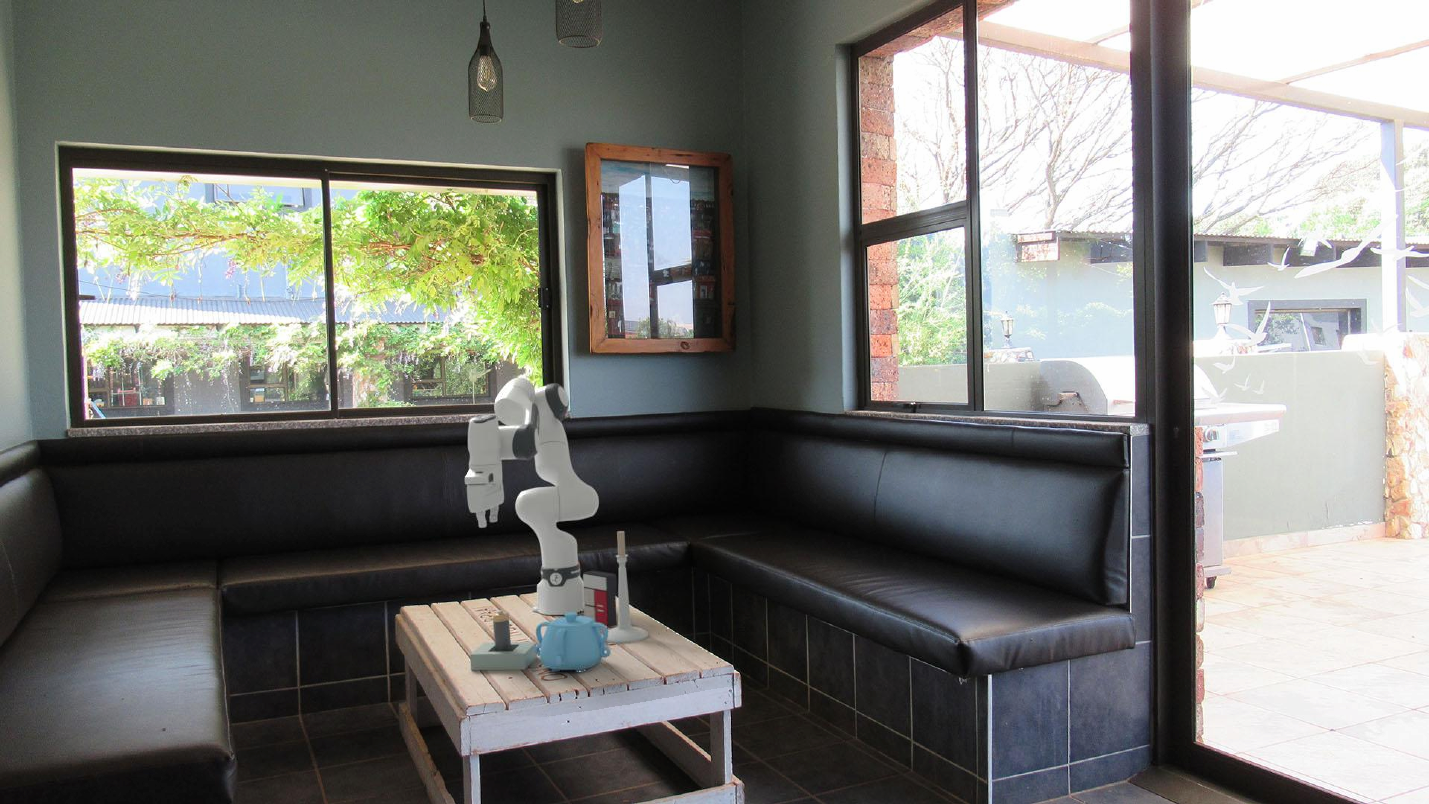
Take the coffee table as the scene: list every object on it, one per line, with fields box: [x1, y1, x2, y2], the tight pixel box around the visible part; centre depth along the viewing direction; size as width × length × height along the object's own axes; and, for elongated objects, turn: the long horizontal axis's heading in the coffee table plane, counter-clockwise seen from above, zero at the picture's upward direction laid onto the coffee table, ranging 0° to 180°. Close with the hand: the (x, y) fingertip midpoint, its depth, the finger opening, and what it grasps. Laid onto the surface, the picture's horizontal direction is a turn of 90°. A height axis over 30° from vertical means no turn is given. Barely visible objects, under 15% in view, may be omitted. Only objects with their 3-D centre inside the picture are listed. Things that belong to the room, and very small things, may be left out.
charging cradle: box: [469, 641, 538, 671], centre depth 256 cm, size 11×14×4 cm
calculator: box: [582, 570, 618, 628], centre depth 293 cm, size 11×4×15 cm, turn 47°
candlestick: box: [602, 529, 649, 644], centre depth 277 cm, size 13×13×30 cm
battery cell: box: [492, 609, 512, 652], centre depth 256 cm, size 4×4×13 cm
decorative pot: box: [535, 612, 611, 673], centre depth 251 cm, size 16×16×14 cm
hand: (488, 524), depth 275 cm, fingers open, 8 cm apart
